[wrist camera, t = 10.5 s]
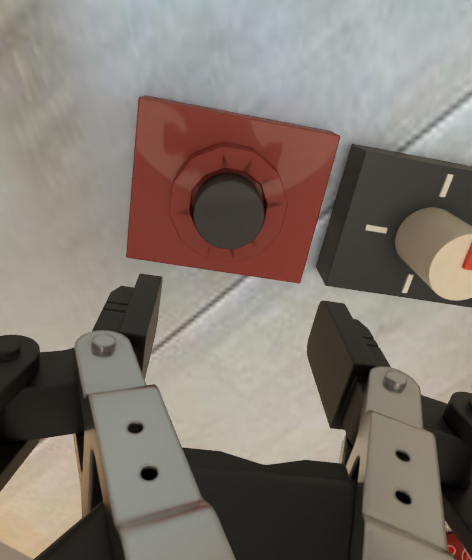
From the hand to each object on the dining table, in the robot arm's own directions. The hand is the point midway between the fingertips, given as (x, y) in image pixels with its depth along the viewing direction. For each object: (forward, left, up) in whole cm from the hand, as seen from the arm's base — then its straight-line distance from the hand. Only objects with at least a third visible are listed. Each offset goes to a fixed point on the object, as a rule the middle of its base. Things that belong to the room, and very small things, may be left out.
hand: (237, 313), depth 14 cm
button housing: (0, 0, -16) cm, 16 cm away
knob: (+13, 0, -13) cm, 19 cm away
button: (0, 0, -13) cm, 13 cm away
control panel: (+13, 0, -16) cm, 21 cm away
